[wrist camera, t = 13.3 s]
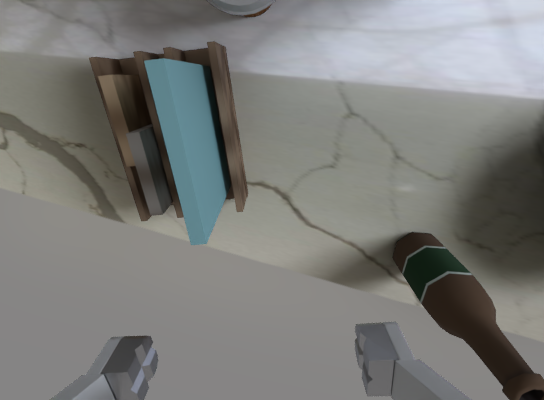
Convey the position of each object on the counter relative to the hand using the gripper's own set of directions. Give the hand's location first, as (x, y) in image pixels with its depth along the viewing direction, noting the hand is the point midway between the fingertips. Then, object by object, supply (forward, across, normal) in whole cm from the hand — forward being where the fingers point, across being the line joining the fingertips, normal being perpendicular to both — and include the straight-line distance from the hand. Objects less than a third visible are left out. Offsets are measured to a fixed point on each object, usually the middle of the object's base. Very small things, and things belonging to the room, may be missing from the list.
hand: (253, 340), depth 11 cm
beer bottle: (+33, -22, +19) cm, 44 cm away
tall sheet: (+31, +7, -3) cm, 32 cm away
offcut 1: (+31, +16, -6) cm, 36 cm away
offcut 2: (+31, +14, 0) cm, 34 cm away
